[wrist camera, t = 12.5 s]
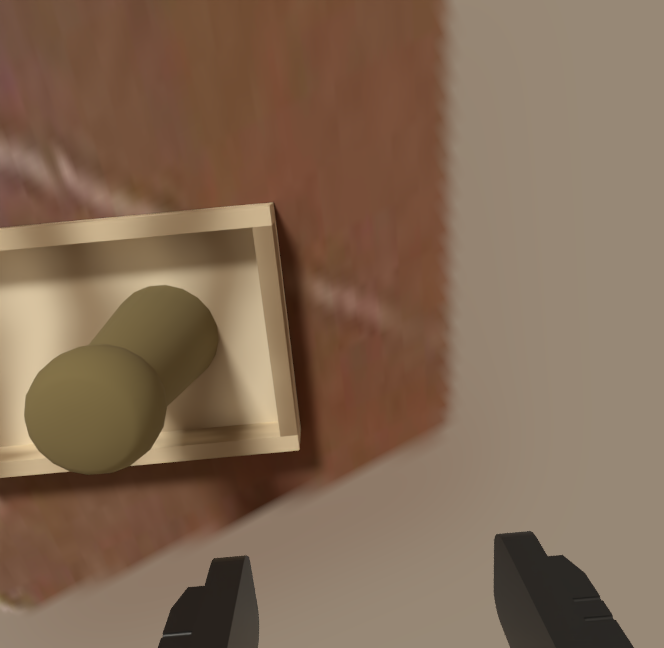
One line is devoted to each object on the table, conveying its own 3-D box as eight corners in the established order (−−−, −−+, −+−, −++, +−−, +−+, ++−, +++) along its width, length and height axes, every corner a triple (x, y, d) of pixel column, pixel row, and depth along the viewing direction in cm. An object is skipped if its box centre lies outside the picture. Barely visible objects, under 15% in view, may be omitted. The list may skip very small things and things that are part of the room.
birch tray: (-77, 463, 32) (-110, 487, 29) (-162, 242, 27) (-207, 249, 25) (300, 429, 31) (299, 450, 29) (273, 202, 27) (269, 205, 25)
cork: (91, 319, 28) (-43, 406, 18) (178, 264, 28) (91, 322, 17) (155, 401, 30) (67, 525, 20) (239, 352, 29) (194, 454, 19)
